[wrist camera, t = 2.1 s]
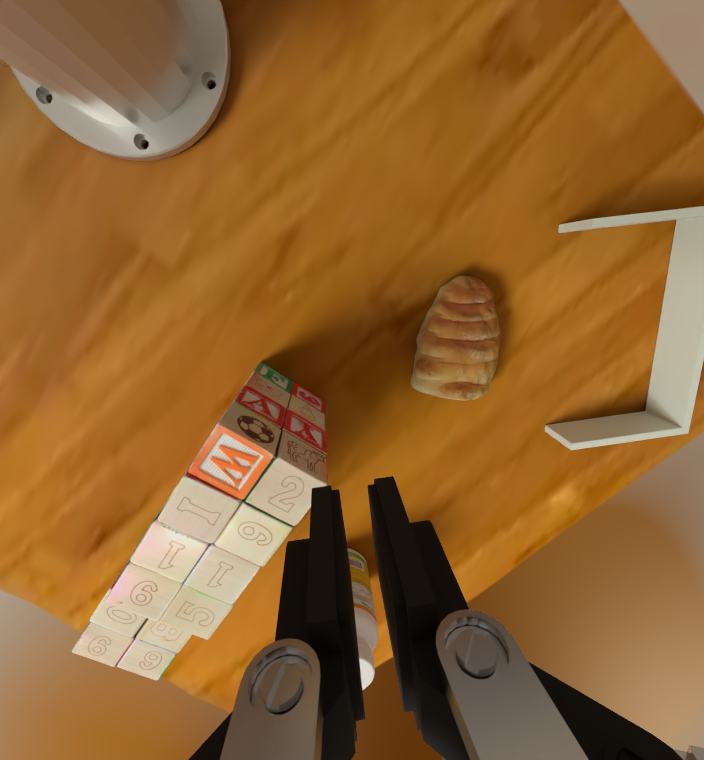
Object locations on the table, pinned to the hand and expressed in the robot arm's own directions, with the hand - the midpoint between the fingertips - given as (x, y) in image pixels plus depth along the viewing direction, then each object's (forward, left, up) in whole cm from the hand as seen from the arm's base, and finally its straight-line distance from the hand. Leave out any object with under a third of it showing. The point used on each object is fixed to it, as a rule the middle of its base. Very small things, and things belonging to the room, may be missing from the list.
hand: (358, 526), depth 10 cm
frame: (+1, +23, -19) cm, 30 cm away
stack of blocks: (+9, -10, -20) cm, 24 cm away
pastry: (0, +10, -20) cm, 22 cm away
